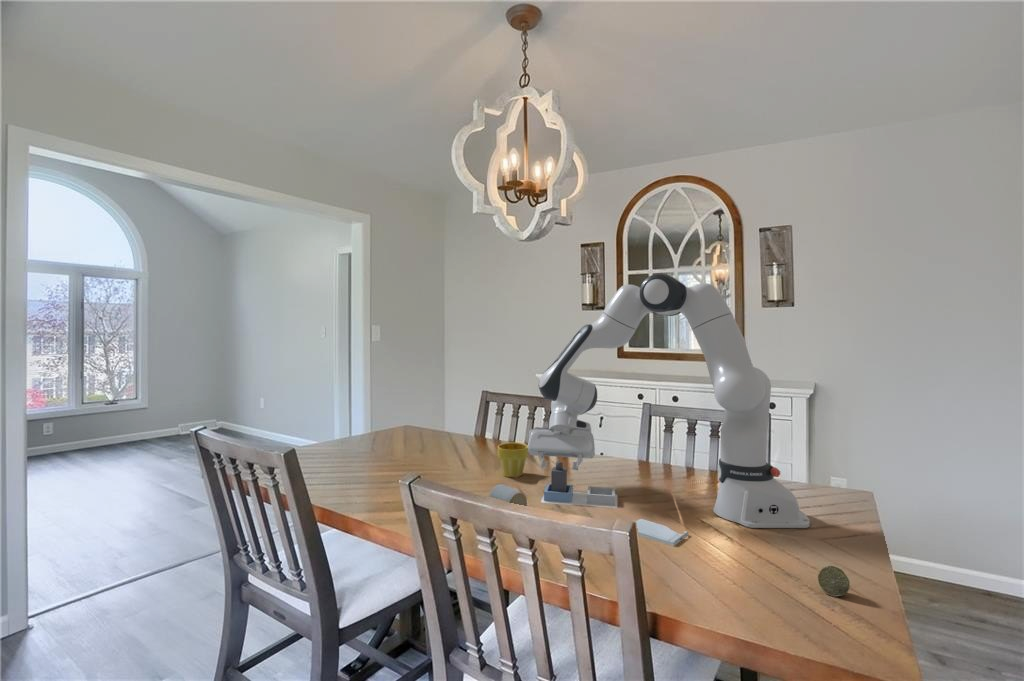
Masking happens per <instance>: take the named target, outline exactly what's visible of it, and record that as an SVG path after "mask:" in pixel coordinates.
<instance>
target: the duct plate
mask: <svg viewBox="0 0 1024 681" xmlns="http://www.w3.org/2000/svg"><path fill="white" fill-rule="evenodd" d="M615 490H616V487H612V486H611V487H609V486H607V487H606V486H591V485H588V487H587V492H583V491H574V484H567V492H553V491H551V483H547V484H546V486H545V487H544V491H543V496H542V498H541V500H540V504H553V505H554V504H555V505H556V504H557V505H570V506H582V507H585V506H586V507H597V508H599V507H600V508H611V509H612V508H613V509H614V508H615V509H618V494H616V491H615Z"/></svg>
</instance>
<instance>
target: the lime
mask: <svg viewBox="0 0 1024 681" xmlns="http://www.w3.org/2000/svg"><path fill="white" fill-rule="evenodd" d="M817 574H818V575H817V581H818V584H819V586H820V588H821V590H822V591H823V592H824V593H825V594H827V595H828V596H831V597H842V596H846V595H847V594H848V592H849V590H850V588H851V586H850V585H851V584H850V579H849V578H848V575H847V574H846V573H845V571H843V569H841V568H839V567H836V566H834V565H827V566H825V567H823V568H821V569H820V571H819V573H817Z"/></svg>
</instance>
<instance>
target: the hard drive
mask: <svg viewBox="0 0 1024 681" xmlns="http://www.w3.org/2000/svg"><path fill="white" fill-rule="evenodd" d="M635 522H636V523H637V528H638V537H641V538H645V539H648V540H651V541H655V542H657V543H661V544H664V545H668V546H672V547H675V546H676V545H677V544H679V543H680V542H681V541H683V540H684V539H685V538H687V537H689V532H688V531H684V530H683V532H684V533H678V532H677V531H675V530H673V529H671V528H669V527H668V526H666V525H663V524H659V523H658V522H653V521H650V520H646V519H643V518H639V519H637V520H636V521H635Z"/></svg>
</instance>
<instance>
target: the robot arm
mask: <svg viewBox="0 0 1024 681" xmlns="http://www.w3.org/2000/svg"><path fill="white" fill-rule="evenodd" d="M651 313H652V314H656V315H660V316H666V317H667V316H668V317H674V316H678V315H680V314H682V315H683V316H684V317H685V318H686V320H687V322H688V324H689V326H690V329H691V331H692V332H693V335H694V337H695V340H696V341H697V343H698V346H699V348H700V350H701V352H702V354H703V355H702V356H703V357H704V360H705V363H706V368H707V371H708V374H709V377H710V381H711V383H712V388H713V392H714V393H713V394H714V398H715V400H716V402H717V404H718V405H719V406H720V407H721V408H722V409H724V411H723V412H724V413H723V420H722V425H721V428H720V458H719V459H718V464H717V477H718V480H719V482H718V483H719V484H718V489H717V490H718V491H717V494H716V495H717V496H716V501H715V504H714V507H713V509H712V510H713V513H714V514H716V515H717V516H718V517H721V518H722V519H724V520H727V521H730V522H734V523H737V524H740V525H742V526H744V527H746V528H751V529H759V528H760V529H808V528H809V527H810V525H811V524H810V523H811V522H810V519H809V517H808V516H807V515H806V513H804V512H803V511H801V510H800V506H799V502H798V500H797V498H796V496H795V494H794V493H793V492H792V491H790V490H789V489H788V488H787V487H786V486H784V485H783V484H782V483H781V482H780V481H778V480H777V479H776V478H778V477H780V476H781V474H782V472H781V471H780V470H779V468H777V467H774V466H773V465H772V464H769V463H768V462H767V435H768V434H767V433H768V425H769V424H768V423H769V416H770V406H771V405H770V404H771V394H772V393H771V390H772V385H771V381H770V378H769V376H768V375H767V374H766V373H765V372H764V371H763V370H761V369H760V368H758V367H754V365H753V363H752V360H751V357H750V354H749V351H748V348H747V343H746V338H745V337H744V335H743V333H742V331H741V329H740V327H739V325H738V323H737V321H736V319H735V317H734V315H733V313H732V311H731V309H730V307H729V305H728V304H727V302H726V300H725V299H724V297H723V296H722V294H721V293H720V292H719V290H718V289H717V288H716V286H715V285H713V284H712V283H706V282H705V283H704V282H703V283H698V284H695V285H693V286H689V287H687V286H686V285H685V284H684V283H683V282H681V281H680V280H679V279H677V278H676V277H674V276H672V275H668V274H666V273H655V274H652V275H649V276H648V277H646V278H645V279H644V280H643V282H642V283H641V285H640V286H637V285H635V284H624V285H621V287H619V288H618V290H616V292H615V293H614V294H613V296H612V297H611V299H610V300H609V301H608V303H607V305H606V306H605V308H604V310H603V312H602V313H601V315H600V316H599V317H598V318H597V319H596V320H595V321H594V322H592V323H590V324H584V325H583V326H582V327H581V328H580V329H579V330H578V331H577V332H576V334H575V335H574V336H573V337H572V338H571V340H570V341H569V342H568V343H567V344H566V346H565V347H564V348H563V349H562V351H561V353H559V355H558V356H557V358H556V359H555V360H554V361H553V363H552V364H550V366H548V368H547V369H546V370H545V371H543V373H542V375H541V376H540V379H539V381H538V389H539V391H540V394H541V396H542V398H544V399H546V400H548V401H551V402H550V411H551V414H550V415H549V420H548V421H549V422H548V427H545V426H544V427H543V426H542V427H538V426H534V428H531V429H530V430H529V432H528V438H529V439H528V443H527V446H528V447H527V448H528V455H530V456H538V459H539V461H540V469H547V466H548V465H547V464H548V463H547V460H544V459H545V457H557V458H558V457H559V458H574V459H575V458H577V460H576V461H572V464H573V465H572V469H573V471H579V466H580V465H581V464H582V463H583V461H584V460H583V459H594V457H595V455H596V452H595V451H596V448H595V447H596V446H595V440H594V435H593V433H592V426H591V423H589V422H586V421H583V420H580V419H578V417H579V416H581V415H584V414H586V413H588V412H590V411H591V410H592V409H594V408H595V406H596V404H597V402H598V388H597V386H596V385H595V383H593V382H591V381H589V380H586V379H585V378H582V377H579V376H577V375H574V374H573V373H571V372H568V371H569V370H570V368H571V367H572V365H573V364H574V363H575V362H576V360H577V359H578V358H579V357H580V355H581V354H582V353H583V352H585V351H587V350H589V349H590V350H591V349H618V348H620V347H623V346H625V345H627V343H629V341H631V339H632V337H633V336H634V334H635V333H636V331H637V329H638V327H639V325H640V324H641V322H642V320H643V318H645V316H647V315H648V314H651ZM774 477H775V478H774Z"/></svg>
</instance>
